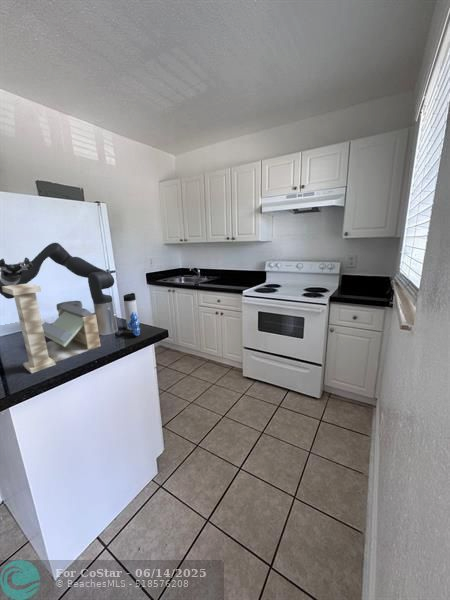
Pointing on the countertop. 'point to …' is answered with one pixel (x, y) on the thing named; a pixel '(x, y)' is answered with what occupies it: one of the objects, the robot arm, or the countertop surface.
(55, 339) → the trapdoor
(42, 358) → the tall stand
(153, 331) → the countertop surface
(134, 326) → the grapes
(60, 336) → the slate block
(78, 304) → the grey rounded piece
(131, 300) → the travel mug
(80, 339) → the trapdoor frame
